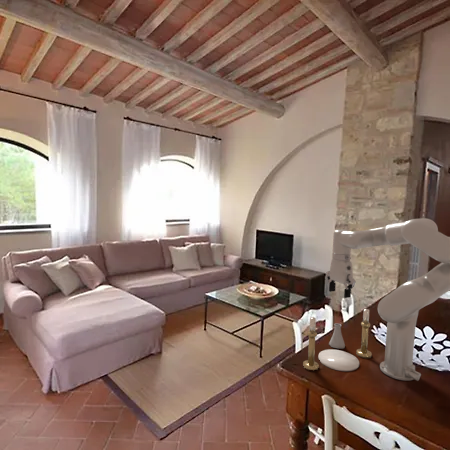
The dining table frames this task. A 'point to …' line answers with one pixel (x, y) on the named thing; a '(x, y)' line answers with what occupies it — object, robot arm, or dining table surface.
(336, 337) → the flask
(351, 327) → the dining table surface
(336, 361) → the cream plate
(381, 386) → the dining table surface
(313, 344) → the near candlestick
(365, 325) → the far candlestick
